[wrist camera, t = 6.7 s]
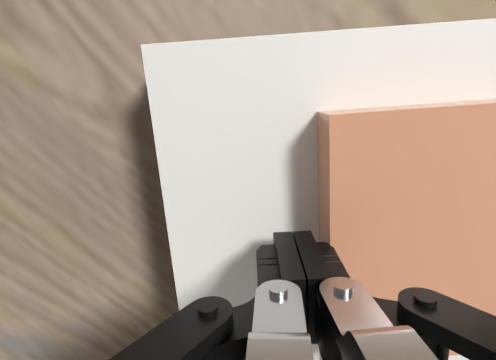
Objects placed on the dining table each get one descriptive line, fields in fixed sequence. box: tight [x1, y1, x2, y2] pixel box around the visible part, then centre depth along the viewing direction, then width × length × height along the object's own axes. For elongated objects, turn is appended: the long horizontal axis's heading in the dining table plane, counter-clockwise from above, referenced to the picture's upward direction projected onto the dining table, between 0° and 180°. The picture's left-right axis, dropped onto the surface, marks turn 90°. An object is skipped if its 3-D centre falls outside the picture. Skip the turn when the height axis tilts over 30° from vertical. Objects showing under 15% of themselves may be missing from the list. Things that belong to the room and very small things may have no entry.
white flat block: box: [141, 18, 496, 360], centre depth 16 cm, size 16×14×4 cm
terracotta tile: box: [317, 99, 496, 356], centre depth 13 cm, size 10×7×2 cm
